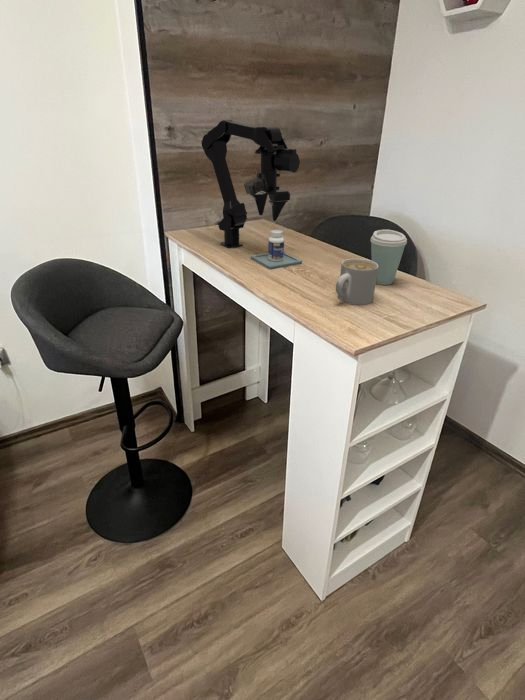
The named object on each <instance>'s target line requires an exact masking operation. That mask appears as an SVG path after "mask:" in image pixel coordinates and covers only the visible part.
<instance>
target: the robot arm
mask: <svg viewBox="0 0 525 700" xmlns="http://www.w3.org/2000/svg"><path fill="white" fill-rule="evenodd" d="M232 136H234V137H235V136H236V137H239V138H244V139H247V140H251V141H253V142H254V144H256V145H258V146H259V147H258V148H257V149H256V150H255V151H254V154H257V155H260V159H259V160H260V163H259V165H260V166H259V167H260V168H259V169H260V171H259V172H257V173H256V177H255V178H253V179H250V180H249V181H246V182H245V183H243V187H244V190H245V192H246V194H247V195H250V197H252V198H253V199H254V201H255V204H256V207H257V211H258V215H259V216H263V215H264V211H265V207H266V203H267V199H268V198H269V200H268V203H270V205H271V211H272V213H271V214H272V221H273V222H277V220H278V218H279V216H280V213H281V212H282V210H283V209H284V207H285V205H286V203H288V202H289V201H291V193H290V191H288V190H286V189H280V186H278V177H279V178H280V177H281V173H279V172H284V173H285V172H286V173H293V174H294V173H297V172H298V170H299V168H300V163H301V160H300V157H299V155H298V153H297V148H288V145H287V144H286V142H285V139H284V137H283V135H282V132H281V129H280V128H279V127H278V126H254V125H251V124H245V123H243V122H237V121H233V120H231V119H229V120H228V119H224V120H223V119H222V120H221V121H219V122H218V124H217V125H216V126H214V127H213V128H212V129H211V130H208V132H207V133H206V134H204V135H203V137H202V140H201V142H200V143H201V146H202V149H203V152H204V154H205V156H206V157H207V159H208V160H209V162H211V164H212V166H213V169H214V173H215V177H216V180H217V184H218V188H219V191H220V195H221V198H222V200H223V206H222V217H223V218H222V219H220V221H219V222H218V224H217V226H218V229H219V230H220V231H223V241H221V242H220V245H222V246H224V247H226V248H227V249H228V248H230V249H231V248H236V247H243V246H244V245H243V243H241V242H240V229H243V228H244V226H245V223H246V222H247V220H248V217H247V214H248V211H247V210H246V205H245V203H244V202H240V201H239V200H238V198H237V194H236V192H235V187H234V183H233V179H232V177H231V174H230V169H229V167H228V163H227V160H226V157H227V154H228V153H227V152H228V147H227V145H228V143H229V142H230V140H231V138H232Z"/></svg>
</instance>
